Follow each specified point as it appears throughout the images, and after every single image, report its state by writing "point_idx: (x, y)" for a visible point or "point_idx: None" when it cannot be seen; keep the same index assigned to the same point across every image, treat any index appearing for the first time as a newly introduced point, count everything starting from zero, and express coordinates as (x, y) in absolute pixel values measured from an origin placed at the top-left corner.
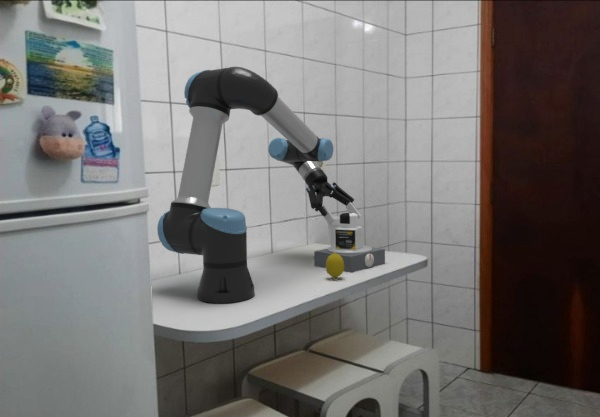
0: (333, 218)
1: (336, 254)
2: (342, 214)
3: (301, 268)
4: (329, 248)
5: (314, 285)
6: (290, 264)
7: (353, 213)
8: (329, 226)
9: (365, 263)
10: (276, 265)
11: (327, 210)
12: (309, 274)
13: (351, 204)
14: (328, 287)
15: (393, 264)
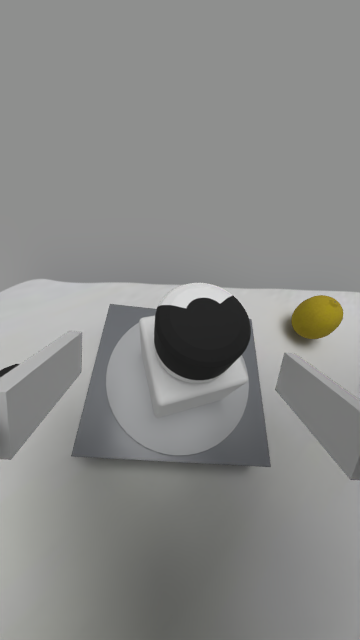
0: (296, 356)
1: (331, 299)
2: (244, 331)
3: (299, 472)
4: (222, 430)
5: (356, 332)
6: (294, 568)
7: (197, 292)
8: None
9: None
10: (344, 609)
11: (339, 387)
12: None
13: (24, 375)
14: (342, 307)
15: None
